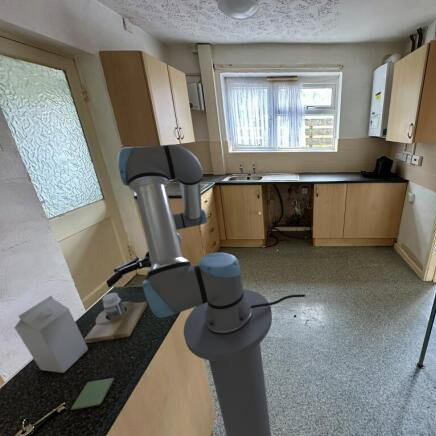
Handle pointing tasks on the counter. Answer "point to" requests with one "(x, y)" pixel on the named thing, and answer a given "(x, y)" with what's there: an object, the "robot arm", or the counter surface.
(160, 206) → the robot arm
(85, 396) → the pad
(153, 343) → the counter surface
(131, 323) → the board
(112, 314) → the pill bottle
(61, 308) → the milk carton
